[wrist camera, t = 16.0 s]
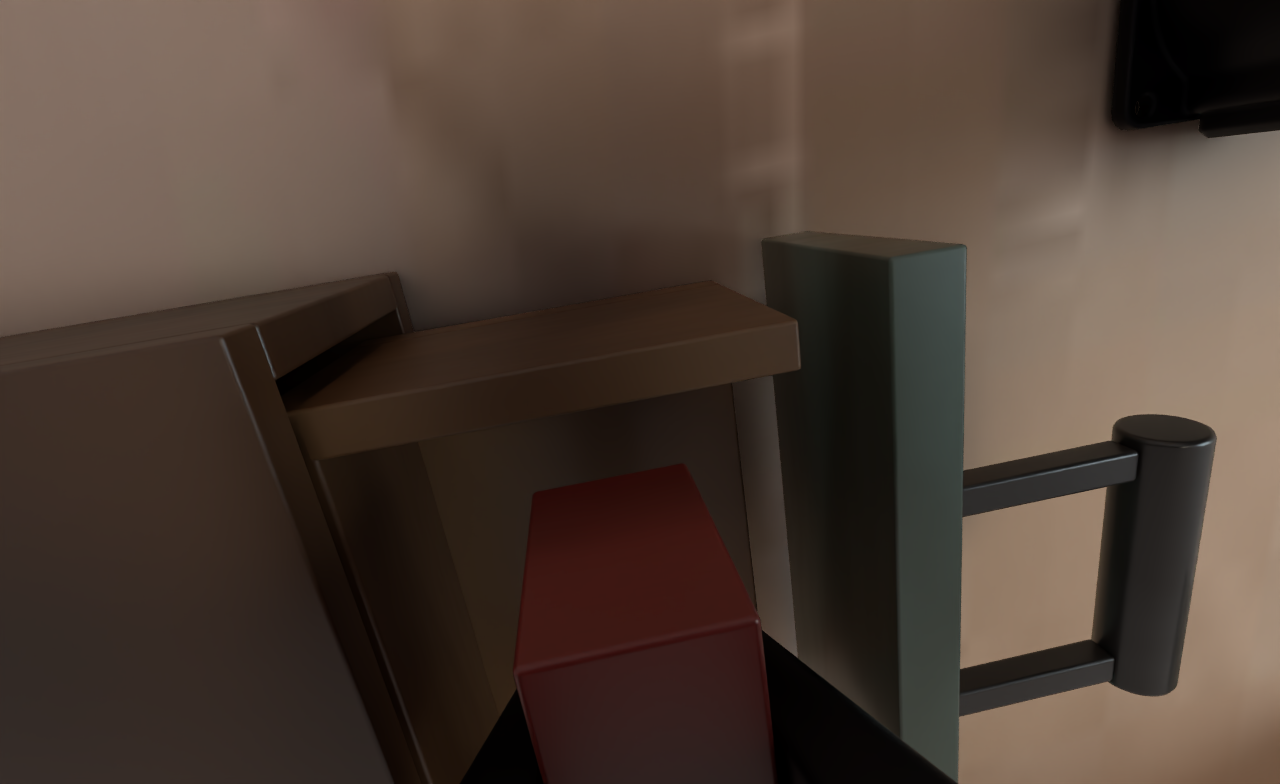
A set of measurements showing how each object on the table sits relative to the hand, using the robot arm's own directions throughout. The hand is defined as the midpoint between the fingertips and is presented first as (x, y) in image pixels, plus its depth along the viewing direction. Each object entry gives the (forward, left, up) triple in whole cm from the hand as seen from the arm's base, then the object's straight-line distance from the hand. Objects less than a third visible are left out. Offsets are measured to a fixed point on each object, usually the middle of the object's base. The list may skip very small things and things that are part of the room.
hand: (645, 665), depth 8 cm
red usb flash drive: (+2, 0, -1) cm, 2 cm away
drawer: (+2, +3, -7) cm, 8 cm away
